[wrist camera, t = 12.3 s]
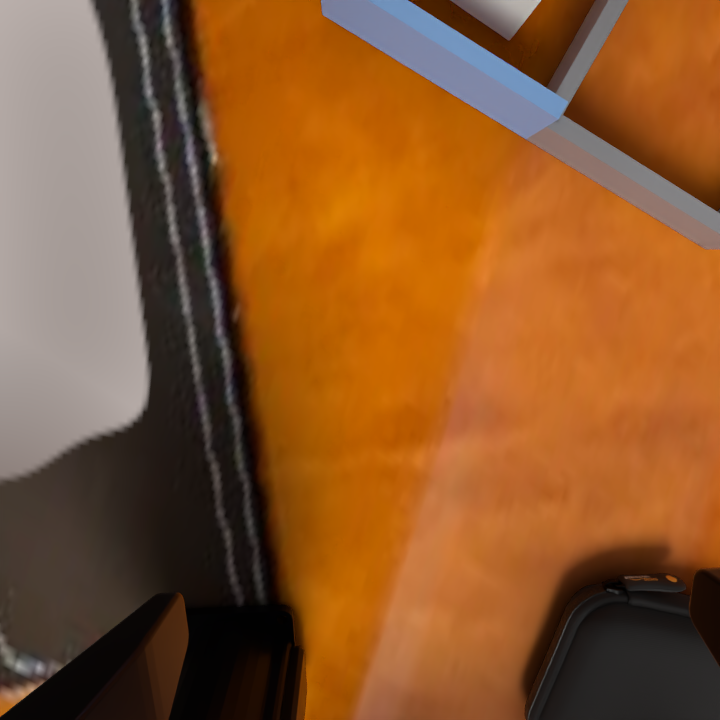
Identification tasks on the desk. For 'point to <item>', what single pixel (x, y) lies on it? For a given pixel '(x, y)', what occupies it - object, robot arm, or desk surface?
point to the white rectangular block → (500, 13)
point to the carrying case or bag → (627, 657)
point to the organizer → (528, 99)
